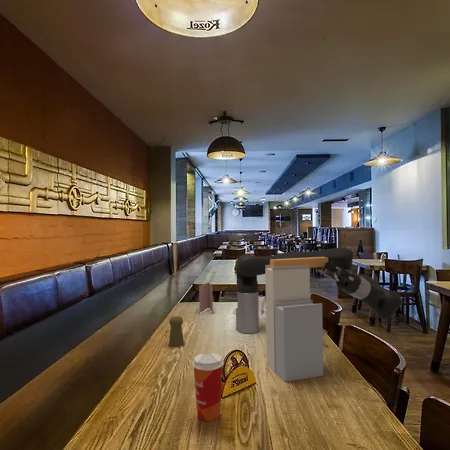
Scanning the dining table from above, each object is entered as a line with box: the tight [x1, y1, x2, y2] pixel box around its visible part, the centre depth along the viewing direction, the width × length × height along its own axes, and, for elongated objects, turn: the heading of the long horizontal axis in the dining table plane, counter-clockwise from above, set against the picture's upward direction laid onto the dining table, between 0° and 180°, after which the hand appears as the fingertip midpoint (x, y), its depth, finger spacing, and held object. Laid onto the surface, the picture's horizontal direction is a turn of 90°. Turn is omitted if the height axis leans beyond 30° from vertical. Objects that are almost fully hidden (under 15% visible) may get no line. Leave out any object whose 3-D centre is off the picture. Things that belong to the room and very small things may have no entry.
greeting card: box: [198, 282, 214, 314], centre depth 179 cm, size 11×7×15 cm, turn 157°
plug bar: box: [270, 257, 329, 269], centre depth 112 cm, size 20×3×3 cm, turn 107°
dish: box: [232, 295, 266, 321], centre depth 176 cm, size 25×25×11 cm
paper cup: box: [192, 352, 224, 422], centre depth 83 cm, size 8×8×14 cm
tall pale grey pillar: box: [264, 265, 311, 373], centre depth 111 cm, size 13×6×33 cm, turn 107°
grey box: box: [275, 299, 324, 383], centre depth 104 cm, size 13×6×22 cm, turn 107°
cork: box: [168, 315, 185, 348], centre depth 131 cm, size 6×6×11 cm
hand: (318, 263), depth 114 cm, fingers open, 8 cm apart
